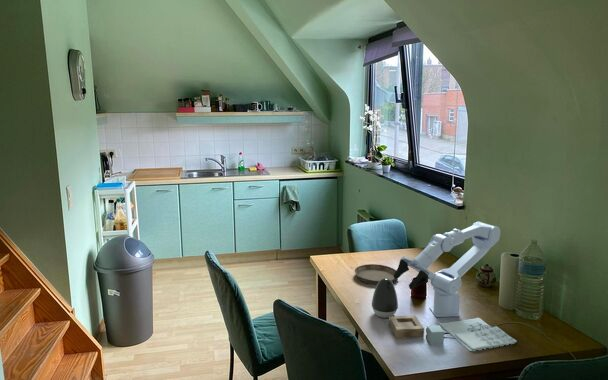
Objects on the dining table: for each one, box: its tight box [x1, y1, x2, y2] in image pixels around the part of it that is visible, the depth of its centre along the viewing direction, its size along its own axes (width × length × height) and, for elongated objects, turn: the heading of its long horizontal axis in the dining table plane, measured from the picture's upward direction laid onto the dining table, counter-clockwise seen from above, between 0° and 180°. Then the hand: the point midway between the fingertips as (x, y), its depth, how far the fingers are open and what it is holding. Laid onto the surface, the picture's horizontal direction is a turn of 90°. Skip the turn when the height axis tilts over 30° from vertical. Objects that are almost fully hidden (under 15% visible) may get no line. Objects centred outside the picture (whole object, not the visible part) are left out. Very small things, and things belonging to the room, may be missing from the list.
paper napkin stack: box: [438, 317, 517, 352], centre depth 166 cm, size 19×20×2 cm
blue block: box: [426, 324, 445, 346], centre depth 161 cm, size 4×4×5 cm
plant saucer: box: [354, 263, 397, 286], centre depth 217 cm, size 21×21×3 cm
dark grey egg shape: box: [371, 278, 399, 319], centre depth 179 cm, size 10×10×15 cm
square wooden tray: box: [388, 314, 425, 339], centre depth 168 cm, size 10×10×4 cm
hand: (402, 282), depth 168 cm, fingers open, 7 cm apart
